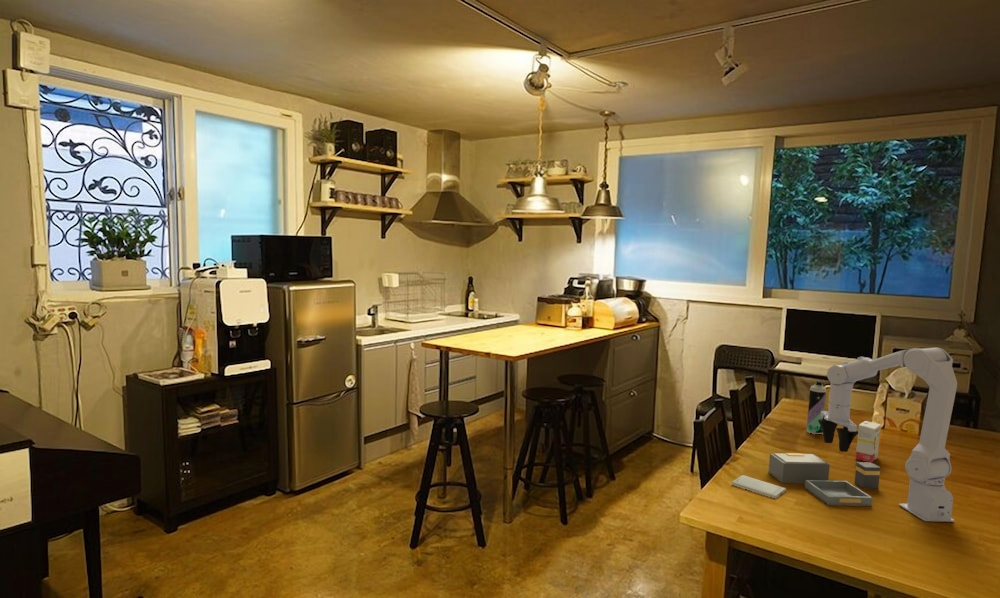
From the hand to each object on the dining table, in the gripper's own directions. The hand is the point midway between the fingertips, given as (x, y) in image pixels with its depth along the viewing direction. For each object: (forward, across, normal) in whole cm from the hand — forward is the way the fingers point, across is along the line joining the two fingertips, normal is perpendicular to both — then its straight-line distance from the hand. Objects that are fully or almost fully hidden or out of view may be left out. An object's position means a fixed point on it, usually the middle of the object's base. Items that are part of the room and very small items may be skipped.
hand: (835, 446), depth 177 cm
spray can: (+9, -42, +19) cm, 47 cm away
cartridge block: (+9, +8, +5) cm, 13 cm away
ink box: (+9, -15, +21) cm, 27 cm away
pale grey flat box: (+9, +3, -13) cm, 16 cm away
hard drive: (+10, +11, -29) cm, 33 cm away
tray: (+9, +16, -9) cm, 20 cm away
